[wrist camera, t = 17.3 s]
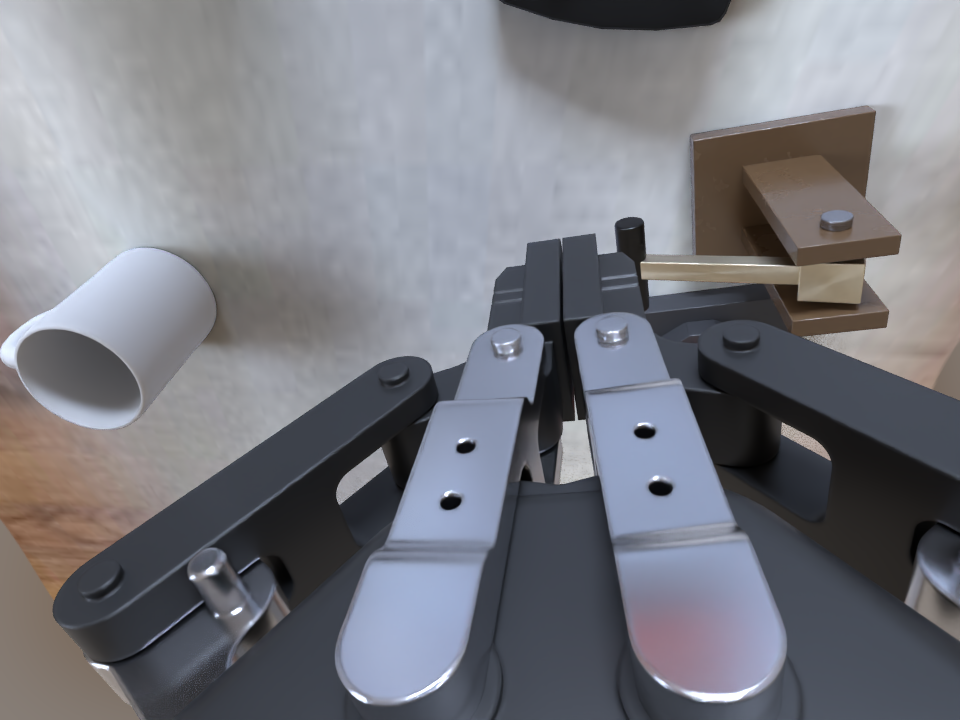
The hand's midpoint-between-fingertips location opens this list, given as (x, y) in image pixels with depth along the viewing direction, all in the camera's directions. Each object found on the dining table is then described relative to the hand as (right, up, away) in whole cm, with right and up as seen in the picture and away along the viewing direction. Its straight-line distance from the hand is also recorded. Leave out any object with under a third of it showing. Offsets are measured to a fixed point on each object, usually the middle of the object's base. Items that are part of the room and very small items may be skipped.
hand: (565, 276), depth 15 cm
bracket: (+17, +9, +27) cm, 33 cm away
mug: (-28, +3, +37) cm, 46 cm away
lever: (+12, +4, +21) cm, 25 cm away
